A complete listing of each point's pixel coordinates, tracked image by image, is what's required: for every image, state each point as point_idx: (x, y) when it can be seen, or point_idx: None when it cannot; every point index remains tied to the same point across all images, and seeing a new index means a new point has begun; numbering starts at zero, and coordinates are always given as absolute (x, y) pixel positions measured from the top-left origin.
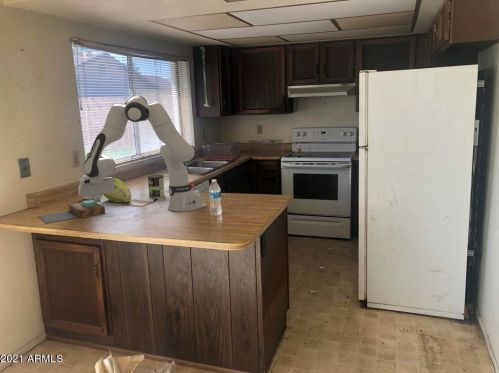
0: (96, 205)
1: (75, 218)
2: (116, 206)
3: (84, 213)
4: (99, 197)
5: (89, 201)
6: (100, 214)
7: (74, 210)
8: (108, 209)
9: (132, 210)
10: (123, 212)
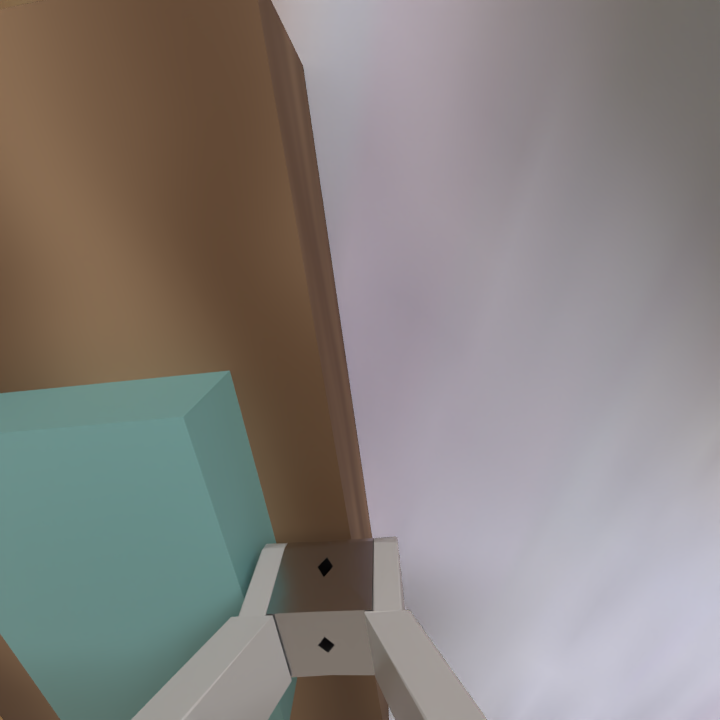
0: None
1: None
2: (713, 334)
3: None
4: (391, 682)
5: (107, 578)
6: None
7: None
8: (498, 465)
9: (714, 678)
10: (582, 693)
